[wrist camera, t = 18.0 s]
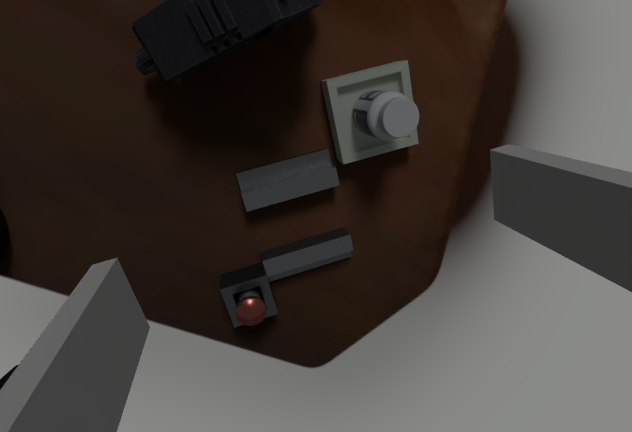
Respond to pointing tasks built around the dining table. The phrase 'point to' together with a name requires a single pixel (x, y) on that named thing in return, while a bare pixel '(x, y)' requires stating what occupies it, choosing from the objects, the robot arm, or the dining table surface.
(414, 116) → the pill bottle
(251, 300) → the plunger
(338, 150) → the tray
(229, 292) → the block
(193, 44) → the tool
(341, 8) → the dining table surface
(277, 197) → the socket
